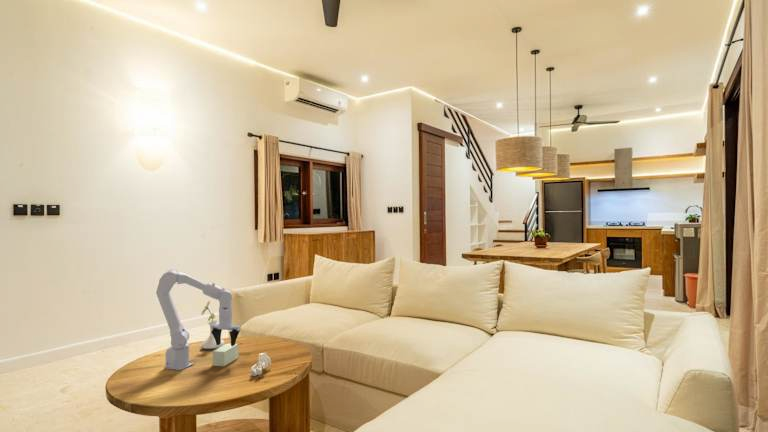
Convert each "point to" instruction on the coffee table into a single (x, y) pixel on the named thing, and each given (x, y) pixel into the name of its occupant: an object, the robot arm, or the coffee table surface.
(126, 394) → the coffee table surface
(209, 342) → the flower in vase
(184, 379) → the coffee table surface
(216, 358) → the pale green block
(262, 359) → the white lumpy piece
